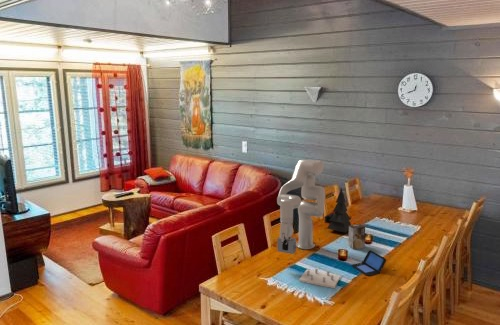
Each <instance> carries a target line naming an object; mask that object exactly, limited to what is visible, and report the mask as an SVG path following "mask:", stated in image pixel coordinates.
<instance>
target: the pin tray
mask: <svg viewBox="0 0 500 325" xmlns="http://www.w3.org/2000/svg"><path fill="white" fill-rule="evenodd" d="M340 280H341V275H339V274H334V273H330V270H327V271H326V272H324V271H320V270H318V268H314V270H313V269H310V268H309V269H307V268H306V270H305V271H304V272H303V274H302V275H301V276H300V278H299V279H298V281H299V282H303V283H306V284H307V283H308V284H310V285H311V284H312V285H316V286H321V287H325V288H331V289H335V288H336V287H337V285H338V284H339V281H340Z"/></svg>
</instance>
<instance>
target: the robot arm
mask: <svg viewBox="0 0 500 325" xmlns="http://www.w3.org/2000/svg"><path fill="white" fill-rule="evenodd" d="M324 168H325V164H324V162H323V161H322V160H320V159H319V160H316V159H300V160H298V161H297V162H296V164H295V167H294V170H293V173H292V175H291V179H290V180H288V181H287V182H286V183H285V184H283V185H282V186H281V188H280V189H279V192H278V196H277V197H276V203H277V205H278V206H280V207H279V210H280V217H279V219H280V220H279V222H280V228H279V237H280V239H281V238H282V240H281V241H282V250H286V251H287V250H288V244H287V240H288V239H289V238H290V237H291V238H292V235H293V223H294V210H295V209H297V213H298V242H296V248H298V249H300V250H312V249H314V248H315V246H316V245H315V243H314V242H313V241H314V239H313V236H314V235H313V234H314V220H313V218H312V217H315V218H321V217H324V213H325V200H326V190H325V188H324V187H323V186H320V185H319V186H318V185H316V176H318V175H320V174H322V173H323V171H324ZM299 188H301V192H300V194H301V195H300V196H301V197H300V196H298V195H295V194H288V193H289V192H290V191H293V190H297V189H299ZM302 199H304V200H303V201H302ZM307 200H310V201H307ZM285 238H286V239H285ZM285 240H286V241H285Z"/></svg>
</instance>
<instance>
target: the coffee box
mask: <svg viewBox="0 0 500 325" xmlns="http://www.w3.org/2000/svg"><path fill="white" fill-rule="evenodd" d="M347 241H348V242H347V243H348V244H347V245H348V247H349V248H351V249H352V250H358V249H364V248H365V247H366V226H364V225H363V224H361V223H360V224H351V225H349V230H348V240H347Z"/></svg>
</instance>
